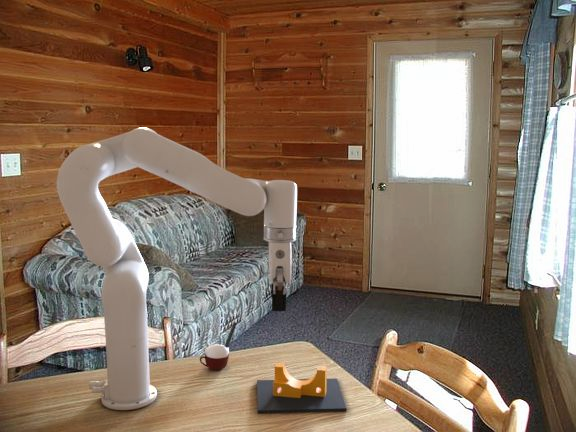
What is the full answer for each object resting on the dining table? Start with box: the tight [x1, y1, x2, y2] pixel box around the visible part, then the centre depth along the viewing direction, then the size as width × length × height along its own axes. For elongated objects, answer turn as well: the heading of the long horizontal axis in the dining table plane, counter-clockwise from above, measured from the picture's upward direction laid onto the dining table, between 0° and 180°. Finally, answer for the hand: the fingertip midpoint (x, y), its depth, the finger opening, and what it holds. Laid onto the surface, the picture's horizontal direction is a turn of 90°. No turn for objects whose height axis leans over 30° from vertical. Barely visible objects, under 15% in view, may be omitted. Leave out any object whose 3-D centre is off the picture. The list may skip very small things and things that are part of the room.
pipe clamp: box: [273, 361, 328, 398], centre depth 146 cm, size 12×4×6 cm, turn 79°
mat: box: [256, 377, 348, 415], centre depth 147 cm, size 20×16×1 cm
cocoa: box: [199, 320, 238, 371], centre depth 163 cm, size 10×6×12 cm, turn 89°
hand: (278, 304), depth 147 cm, fingers open, 9 cm apart
